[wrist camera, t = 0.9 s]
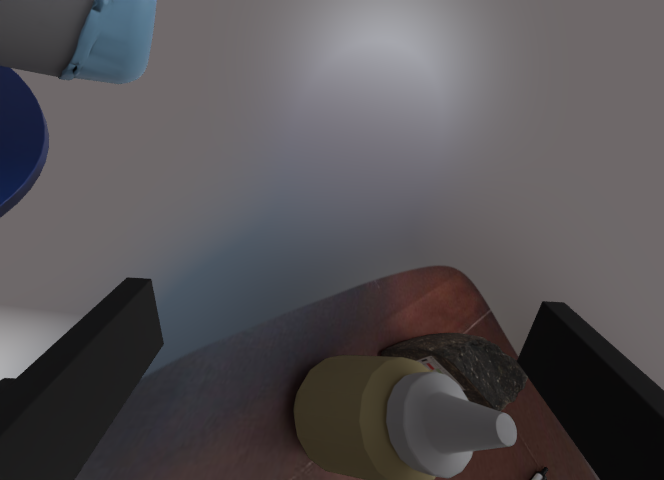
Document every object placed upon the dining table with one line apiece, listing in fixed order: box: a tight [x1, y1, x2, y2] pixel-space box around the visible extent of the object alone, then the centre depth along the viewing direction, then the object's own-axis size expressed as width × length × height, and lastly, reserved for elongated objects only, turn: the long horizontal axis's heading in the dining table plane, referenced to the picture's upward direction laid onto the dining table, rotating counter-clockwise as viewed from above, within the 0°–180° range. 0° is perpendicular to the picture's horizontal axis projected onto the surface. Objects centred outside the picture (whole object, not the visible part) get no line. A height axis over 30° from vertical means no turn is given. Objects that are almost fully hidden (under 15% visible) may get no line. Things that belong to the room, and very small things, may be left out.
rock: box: [382, 333, 527, 411], centre depth 31 cm, size 10×7×8 cm
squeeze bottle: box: [293, 355, 517, 480], centre depth 20 cm, size 8×8×18 cm
